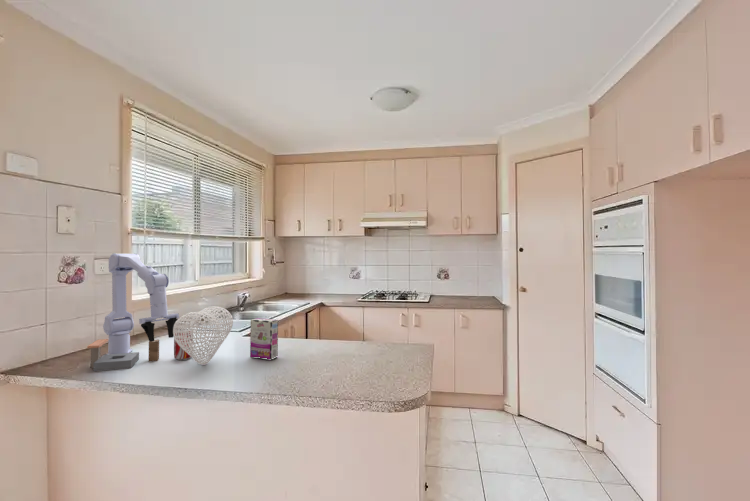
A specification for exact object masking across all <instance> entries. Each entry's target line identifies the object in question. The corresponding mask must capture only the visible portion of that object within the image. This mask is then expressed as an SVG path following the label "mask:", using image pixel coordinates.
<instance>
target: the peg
mask: <svg viewBox="0 0 750 501" xmlns="http://www.w3.org/2000/svg"><path fill="white" fill-rule="evenodd" d="M159 360H160V339H154V341H152V342H149V341H148V363H149V362H158V361H159Z"/></svg>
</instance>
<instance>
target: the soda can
mask: <svg viewBox="0 0 750 501" xmlns="http://www.w3.org/2000/svg"><path fill="white" fill-rule="evenodd" d="M177 331H178V329H177ZM180 331H181V328H180ZM184 331H185V328H184ZM187 331H188V328H187ZM189 332H190V331H189ZM191 332H192V331H191ZM179 334H180V333H179ZM189 334H190V333H189ZM175 335H176V333H175ZM187 335H188V333H187ZM191 335H192V334H191ZM191 335H189V336H190V338H191ZM177 336H178V333H177ZM180 336H181V334H180ZM182 336H183V333H182ZM184 338H185V334H184ZM187 338H188V336H187ZM176 339H177V338H176ZM178 340H179V339H178ZM180 340H181V339H180ZM183 340H184V339H183ZM190 340H191V341H192V339H190ZM181 342H182V341H181ZM183 342H184V341H183ZM186 342H187V340H186ZM184 343H185V342H184ZM188 343H189V340H188ZM191 343H193V342H191ZM187 345H188V344H187ZM189 345H190V344H189ZM192 345H193V344H192ZM193 346H194V345H193ZM185 347H186V345H185ZM188 347H189V346H188ZM183 348H184V347H183ZM189 349H190V348H189ZM187 350H188V349H187ZM190 350H191V349H190ZM188 352H189V351H188ZM191 352H192V351H191ZM190 354H191V353H190ZM173 358H174V359H175V360H177V361H187V360H189V359H190V358H192V357H191V356H190V355H189V354H188V353H186V352H185V351H184V350H183V349H182V348H181V347H180V346H179V345H178V344H177V342H176V341H175V339H174V338H173Z"/></svg>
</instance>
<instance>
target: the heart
mask: <svg viewBox="0 0 750 501" xmlns="http://www.w3.org/2000/svg"><path fill="white" fill-rule="evenodd" d="M177 319H178V320H177V321H176V322H175V324H174V327H173V335H174V336H173V340H174V339H175V341H176V342H177V344H178V345H179V346H180V347H181V348H182V349H183V350H184V351H185V352H186V353H188V354H189V355H190V356H191V357H190V358H192V359H193V361H195V362H196V363H197V364H198V365H201V366H206V365H208V364H209V362H211V361H212V360H213V357H214V356H215V354H216V353H217V351H219V348H220V347H221V345H223V343H224V341H225V340H226V339H227V337H228V336H229V335H230V333H231V331H232V328H233V324H234V317H233V315H232V314H231V312H230V311H229V310H228V309H226V308H224V307H221V306H218V305H215V306H214V305H213V306H212V305H211V306H207V307H204V308H203V309H201V310H199V311H191V312H187V313H184V314H183V315H182V316H179V318H177ZM202 319H203V321H202ZM176 324H177V325H176ZM180 329H181V331H180ZM184 329H185V331H184ZM187 329H188V331H187ZM177 330H178V331H177ZM189 331H190V332H189ZM191 331H192V332H191ZM175 333H176V335H175ZM177 333H178V336H177ZM179 333H180V334H181V336H180V334H179ZM182 333H183V336H182ZM187 333H188V335H187ZM189 333H190V334H189ZM184 334H185V338H184ZM191 334H192V335H191ZM189 335H191V338H190V336H189ZM187 336H188V338H187ZM202 336H203V337H202ZM176 338H177V339H176ZM178 339H179V340H178ZM180 339H181V340H180ZM183 339H184V340H183ZM190 339H192V341H191V340H190ZM186 340H187V342H186ZM188 340H189V343H188ZM181 341H182V342H181ZM183 341H184V342H185V343H184V342H183ZM191 342H193V343H191ZM187 344H188V345H187ZM189 344H190V345H189ZM192 344H193V345H192ZM199 344H200V345H199ZM185 345H186V347H185ZM188 346H189V347H188ZM183 347H184V348H183ZM189 348H190V349H191V350H190V349H189ZM187 349H188V350H187ZM188 351H189V352H188ZM191 351H192V352H191ZM190 353H191V354H190Z"/></svg>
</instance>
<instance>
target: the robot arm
mask: <svg viewBox="0 0 750 501" xmlns="http://www.w3.org/2000/svg"><path fill="white" fill-rule="evenodd" d="M133 271H136V272H137V276H138V277H139V278H140V279H141V280H142V281H143V282H144V285H145V287H146V288H145V289H146V290H147V293H148V294H149V305H150V317H149V316H148V317H142V318H138V322H139V325H140V327H141V328H142V329H143V331H144V333H145V334H146V336H147V339H148V343H149V342H152V341H154V340H155V325H156V324H155V322H159V321H165V324H166V327H167V336H168V339H169V338H174V335H173V327H174V324H175V322H176V321H177V320H178V319H179V318H180V314H179V313H178V312H177V313H169V311H168V310H169V309H168V300H167V299H168V298H167V288H168V286H169V276H167V274H166V273H159V272H158V271H157V270H156V269H155V268H153V267H152V265H151V264H150V265H146V264H144V263H143V261H141V257H140V254H138V253H135V252H133V253H116V252H113V253H112V254H111V255H110V256H109V258H108V272H109V273H111V279H112V280H111V284H112V285H111V288H112V290H111V291H112V292H111V295H112V297H111V298H112V300H111V302H112V306H111V307H112V311H111V312H110V313H108V314H106V316H105V317H104V321H103V326H102V327H103V328H102V329H103V332H104V333H105V334H106V335H107V336H108V342H107V343H108V344H107V345H108V347H107V348H108V349H107V350H108V353H107V354H119V353H132V351H133V349H132V348H131V335H130V333H132V332H131V331H132V330H133V329H134V327H135V320H134V316H133V314H132V312H129V311H128V310H127V275H128V273H130V272H133ZM176 326H177V324H176Z"/></svg>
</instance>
